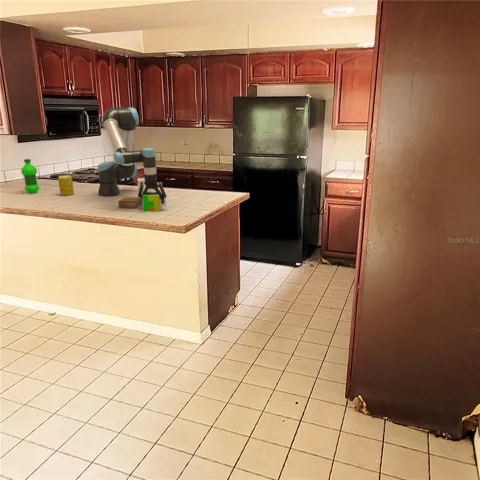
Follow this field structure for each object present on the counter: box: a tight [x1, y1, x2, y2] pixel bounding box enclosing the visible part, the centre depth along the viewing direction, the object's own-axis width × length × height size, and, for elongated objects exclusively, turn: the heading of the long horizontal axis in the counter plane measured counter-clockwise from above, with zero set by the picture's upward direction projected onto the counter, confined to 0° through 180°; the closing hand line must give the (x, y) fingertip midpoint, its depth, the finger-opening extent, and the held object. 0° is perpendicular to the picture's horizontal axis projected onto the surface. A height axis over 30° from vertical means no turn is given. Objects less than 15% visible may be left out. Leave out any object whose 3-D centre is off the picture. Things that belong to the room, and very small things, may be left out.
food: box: [57, 174, 75, 196], centre depth 308 cm, size 15×12×10 cm
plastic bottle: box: [20, 158, 40, 195], centre depth 314 cm, size 10×10×25 cm
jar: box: [136, 177, 154, 195], centre depth 290 cm, size 11×10×15 cm
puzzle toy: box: [142, 191, 162, 212], centre depth 266 cm, size 10×10×10 cm
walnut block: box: [117, 196, 143, 209], centre depth 276 cm, size 12×12×5 cm
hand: (153, 208), depth 267 cm, fingers closed on puzzle toy, 11 cm apart
